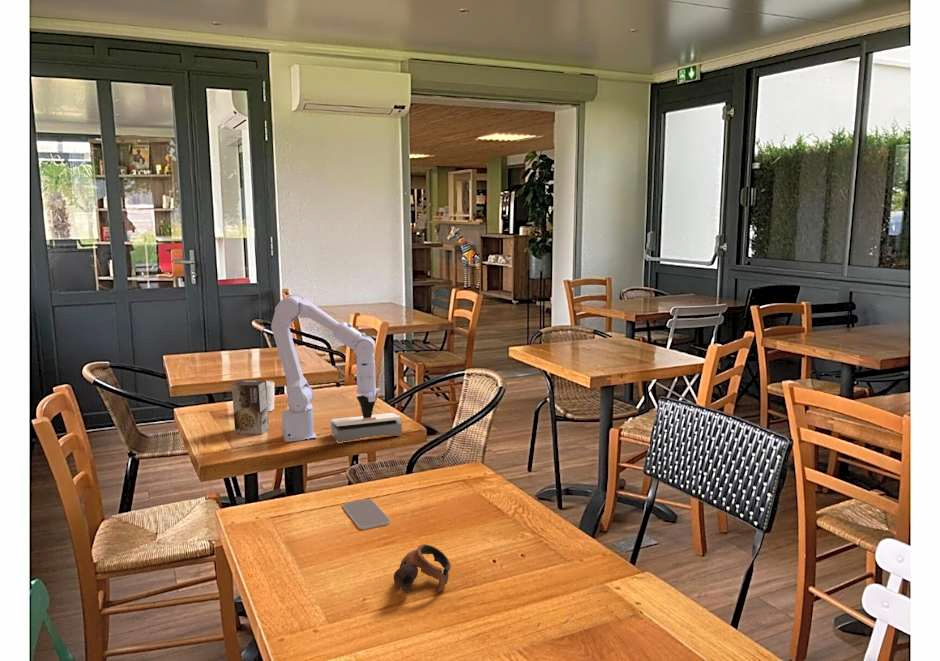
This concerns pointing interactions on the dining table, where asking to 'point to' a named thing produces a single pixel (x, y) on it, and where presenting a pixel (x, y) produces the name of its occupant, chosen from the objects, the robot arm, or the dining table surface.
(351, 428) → the cable duct
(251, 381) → the coffee box
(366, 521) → the smartphone
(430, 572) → the brown looped part
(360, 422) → the duct lid
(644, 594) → the dining table surface
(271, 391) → the white cup
